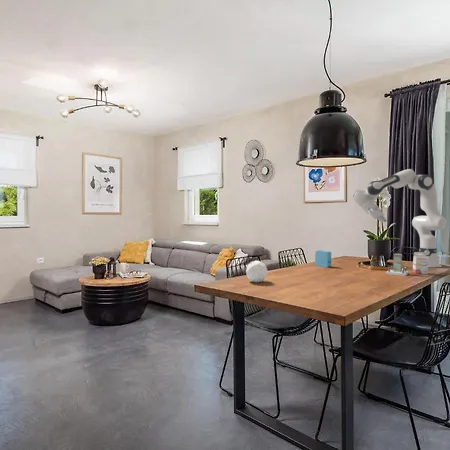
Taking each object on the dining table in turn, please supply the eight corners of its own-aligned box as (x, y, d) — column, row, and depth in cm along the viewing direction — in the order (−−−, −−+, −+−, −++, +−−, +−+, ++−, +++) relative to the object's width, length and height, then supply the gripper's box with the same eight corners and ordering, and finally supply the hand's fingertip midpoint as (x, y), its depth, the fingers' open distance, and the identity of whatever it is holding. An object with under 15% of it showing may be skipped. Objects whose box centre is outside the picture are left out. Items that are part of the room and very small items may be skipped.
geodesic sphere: (250, 276, 217) (261, 256, 221) (236, 272, 229) (247, 254, 233) (265, 288, 224) (275, 269, 228) (251, 284, 235) (261, 266, 239)
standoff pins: (391, 269, 262) (391, 265, 262) (406, 271, 256) (406, 266, 256) (388, 271, 254) (388, 267, 254) (403, 273, 248) (404, 268, 248)
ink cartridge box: (415, 274, 254) (416, 252, 253) (412, 272, 259) (413, 251, 258) (428, 274, 253) (429, 253, 252) (425, 273, 258) (426, 252, 257)
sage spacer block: (394, 270, 258) (394, 253, 258) (401, 271, 256) (401, 254, 255) (393, 271, 255) (393, 254, 254) (400, 272, 252) (400, 254, 251)
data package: (331, 267, 282) (331, 251, 282) (327, 267, 280) (327, 252, 279) (318, 265, 292) (318, 250, 291) (314, 265, 289) (315, 250, 289)
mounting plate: (389, 271, 264) (389, 269, 263) (408, 273, 257) (408, 271, 256) (386, 274, 254) (386, 271, 254) (405, 275, 247) (405, 273, 247)
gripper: (370, 205, 260) (384, 219, 255) (377, 205, 277) (391, 218, 272) (363, 211, 263) (377, 225, 258) (371, 210, 280) (384, 224, 274)
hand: (384, 221), depth 265 cm, fingers open, 8 cm apart
